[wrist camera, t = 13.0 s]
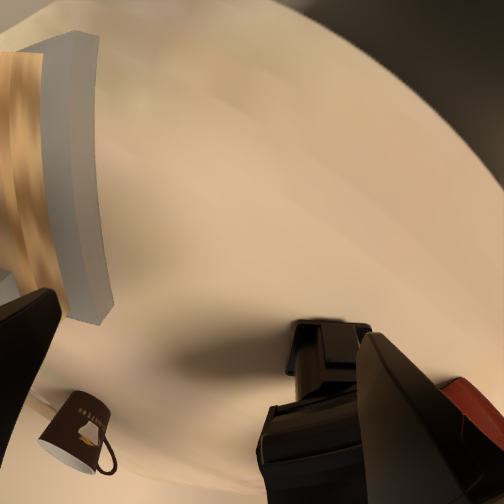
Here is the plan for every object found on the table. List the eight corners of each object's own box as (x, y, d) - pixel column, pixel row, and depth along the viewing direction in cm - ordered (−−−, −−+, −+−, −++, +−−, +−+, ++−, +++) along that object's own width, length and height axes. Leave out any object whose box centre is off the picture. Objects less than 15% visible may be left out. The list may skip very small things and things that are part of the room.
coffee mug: (56, 380, 33) (26, 432, 24) (102, 391, 32) (73, 452, 23) (90, 424, 38) (69, 471, 29) (133, 435, 37) (115, 488, 28)
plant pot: (479, 344, 24) (538, 470, 9) (499, 398, 29) (532, 482, 14) (341, 427, 31) (350, 550, 16) (399, 457, 36) (412, 541, 21)
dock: (114, 304, 25) (99, 325, 22) (24, 283, 25) (8, 299, 22) (99, 36, 14) (75, 30, 12) (-2, 70, 15) (-25, 72, 12)
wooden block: (71, 309, 22) (46, 340, 18) (22, 296, 22) (-2, 321, 18) (43, 53, 12) (1, 52, 9) (-9, 74, 13) (-46, 79, 9)
